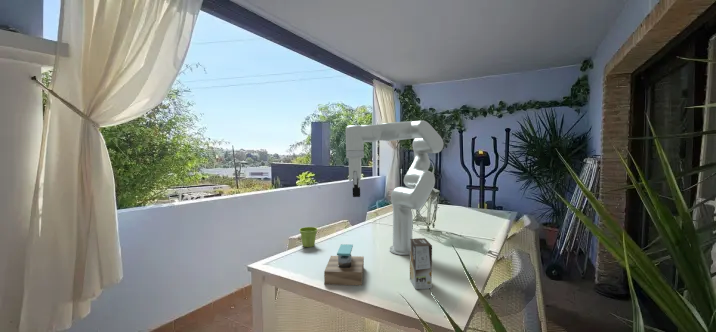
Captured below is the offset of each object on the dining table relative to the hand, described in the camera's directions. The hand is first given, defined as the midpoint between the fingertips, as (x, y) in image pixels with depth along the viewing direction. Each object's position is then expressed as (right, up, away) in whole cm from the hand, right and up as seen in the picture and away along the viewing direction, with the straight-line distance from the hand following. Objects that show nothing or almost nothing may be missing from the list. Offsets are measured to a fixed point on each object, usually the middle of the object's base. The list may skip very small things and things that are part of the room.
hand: (356, 196), depth 133 cm
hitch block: (-5, -31, -10) cm, 33 cm away
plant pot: (-25, -28, +26) cm, 46 cm away
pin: (-5, -30, -12) cm, 33 cm away
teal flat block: (-5, -21, -11) cm, 24 cm away
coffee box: (+24, -31, -17) cm, 43 cm away
